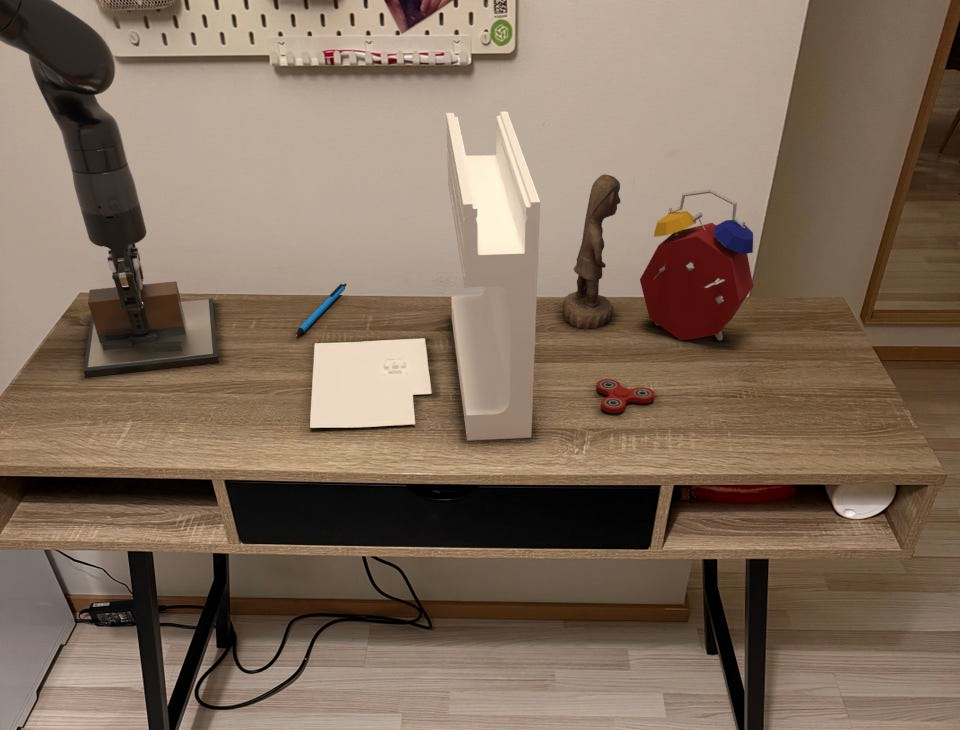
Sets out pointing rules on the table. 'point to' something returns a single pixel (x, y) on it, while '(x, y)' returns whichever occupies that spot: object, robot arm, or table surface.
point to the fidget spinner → (621, 395)
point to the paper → (368, 382)
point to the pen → (321, 308)
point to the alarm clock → (697, 273)
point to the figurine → (592, 259)
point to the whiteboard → (143, 357)
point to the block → (495, 282)
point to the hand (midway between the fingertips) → (141, 325)
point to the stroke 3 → (167, 346)
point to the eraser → (158, 309)
